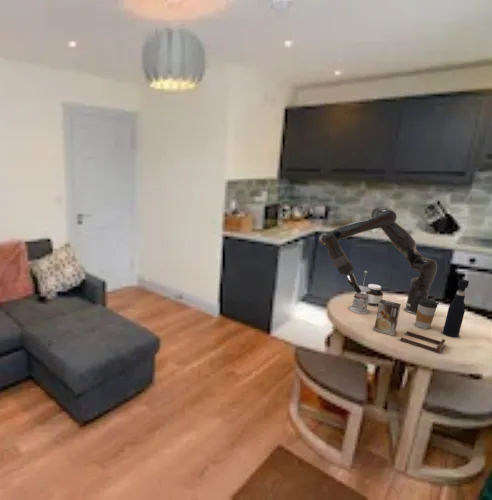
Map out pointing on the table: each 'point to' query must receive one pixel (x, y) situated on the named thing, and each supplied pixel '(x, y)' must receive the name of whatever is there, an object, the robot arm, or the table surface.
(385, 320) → the coffee box
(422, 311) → the coffee cup
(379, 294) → the spread jar
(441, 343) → the bay
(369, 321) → the table surface
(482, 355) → the table surface
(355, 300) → the french press
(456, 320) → the dark water bottle
